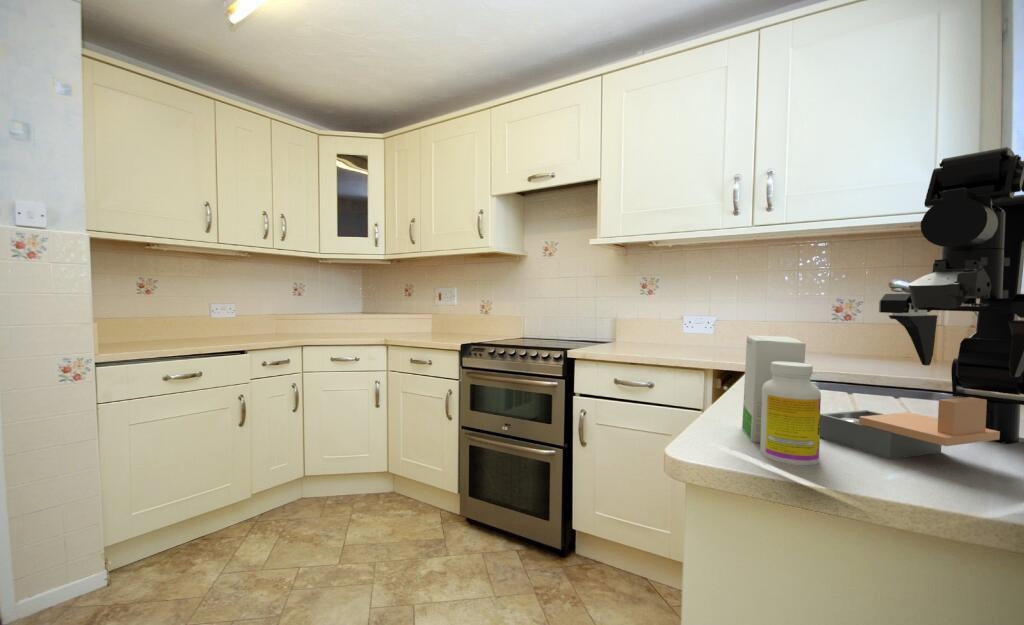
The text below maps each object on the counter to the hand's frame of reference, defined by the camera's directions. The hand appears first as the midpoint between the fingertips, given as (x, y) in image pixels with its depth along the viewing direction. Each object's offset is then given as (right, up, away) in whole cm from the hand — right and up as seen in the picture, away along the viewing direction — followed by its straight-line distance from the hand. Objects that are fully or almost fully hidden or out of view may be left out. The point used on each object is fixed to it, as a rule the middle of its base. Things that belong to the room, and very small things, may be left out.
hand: (967, 370), depth 60 cm
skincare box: (-21, -12, +9) cm, 26 cm away
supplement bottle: (-23, -12, 0) cm, 26 cm away
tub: (-7, -12, +6) cm, 15 cm away
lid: (-5, -8, 0) cm, 10 cm away
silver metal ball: (-10, -11, +7) cm, 17 cm away
